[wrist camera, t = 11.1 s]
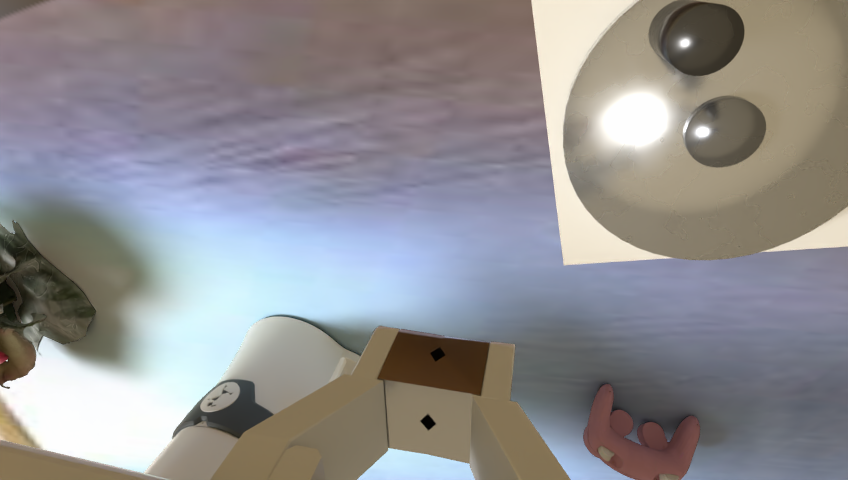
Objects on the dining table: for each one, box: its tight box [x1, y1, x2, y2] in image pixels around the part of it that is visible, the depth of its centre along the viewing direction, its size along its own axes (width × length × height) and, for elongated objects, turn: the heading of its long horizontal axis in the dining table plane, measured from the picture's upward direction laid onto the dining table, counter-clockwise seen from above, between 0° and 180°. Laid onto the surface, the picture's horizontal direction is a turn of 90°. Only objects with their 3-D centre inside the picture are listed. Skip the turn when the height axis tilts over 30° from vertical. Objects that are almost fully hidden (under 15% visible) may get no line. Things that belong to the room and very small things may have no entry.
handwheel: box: [563, 0, 848, 260], centre depth 26 cm, size 18×18×8 cm
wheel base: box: [532, 0, 848, 265], centre depth 31 cm, size 20×20×3 cm
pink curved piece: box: [583, 384, 700, 480], centre depth 44 cm, size 10×5×7 cm, turn 75°
